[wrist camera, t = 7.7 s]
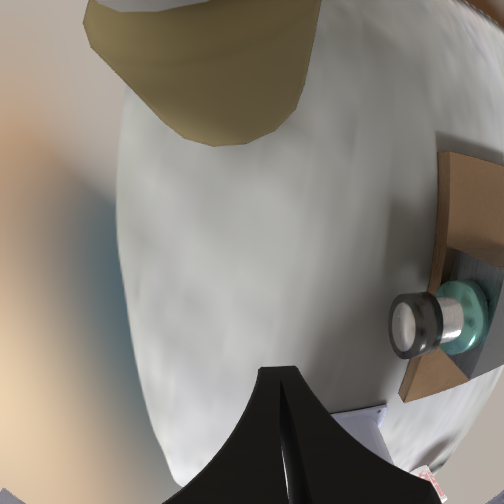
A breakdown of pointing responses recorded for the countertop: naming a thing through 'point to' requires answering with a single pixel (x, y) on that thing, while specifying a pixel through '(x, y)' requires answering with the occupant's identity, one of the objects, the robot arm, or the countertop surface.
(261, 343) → the countertop surface
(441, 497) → the beverage cup
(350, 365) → the countertop surface
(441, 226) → the sharpening stone
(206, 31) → the squeeze bottle
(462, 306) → the shaft
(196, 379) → the countertop surface
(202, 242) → the countertop surface
